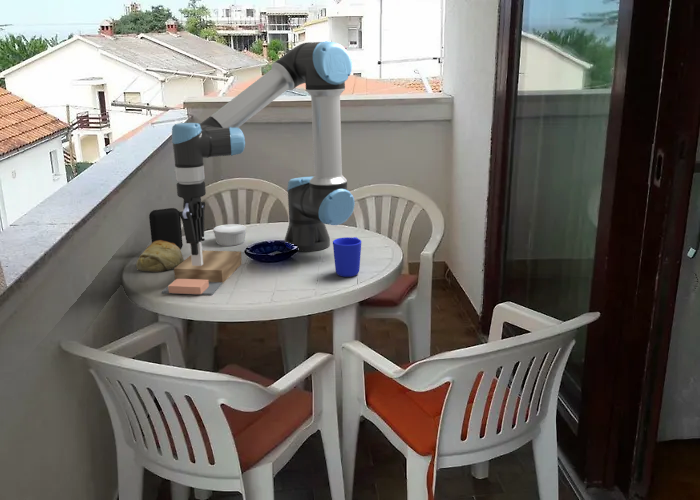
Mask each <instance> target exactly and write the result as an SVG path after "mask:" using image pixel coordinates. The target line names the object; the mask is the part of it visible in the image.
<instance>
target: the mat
mask: <svg viewBox="0 0 700 500" xmlns="http://www.w3.org/2000/svg"><path fill="white" fill-rule="evenodd" d="M223 284H224V283H223V282H209V287H208V288H207V289H206V290H205V291H204V292H203V293H202V294H192V295H193V296H194V295H196V296H197V295H198V296H200V295H201V296H212V295H214V293H216V291H218V290H219V289H220V287H221V286H222V285H223ZM161 294H170V293H169V289H168V286H166V287H165V288H164V289H163V290H162V291H161ZM174 294H175V295H184V294H183V293H172V294H171V295H174Z"/></svg>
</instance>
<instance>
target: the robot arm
mask: <svg viewBox="0 0 700 500" xmlns="http://www.w3.org/2000/svg"><path fill="white" fill-rule="evenodd" d="M352 70H353V62H352V58H351V56H350V53H349V51H348V50H347V49H346V48H345V47H344V46H343V45H341V44H340V43H337V42H336V41H335V42H334V41H329V40H327V41H316V42H314V41H313V42H311V41H310V42H304V43H300V44H298V45H296V46H295V47H293V48H292V49H290V50H289V51H287V52H286V53H285V54H283V55H282V56H281V57H280V58H278V59H277V60H276V61H274V62H273V63H272V64H271V69H270V70H269V71H267V72H266V73H264V74H263V75H262V76H261V77H259V78H258V79H257V80H255V81H254V82H253V83H251V85H249V86H248V87H246V88H245V89H243V90H242V91H241V92H240V93H238V94H237V95H236V96H234V97H233V98H232V99H231V100H230V101H228V102H227V103H225V105H223V106H222V107H220V108H219V109H218V110H216V111H215V112H214V113H212V115H210V116H209V117H207V118H206V119H204V120H203V121H202V122H199V123H198V122H180V123H176V124H175V123H174V125H173V126H172V128H171V143H172V148H173V149H172V150H173V160H174V169H173V172H174V173H175V179H176V182H177V183H176V194H177V197H178V198H181V199H183V205H182V208H183V209H182V210H183V211H179V212H180V216H181V217H180V219H181V223H182V226H183V232H184V237H185V243H186V244H189V245H190V255H191V259H192V265H193V266H202V265H203V255H202V250H203V245H202V242H205V241H206V238H205V208H206V203H205V201H202V197H204V196H206V194H207V193H206V192H207V190H206V183H205V181H204V180H205V179H206V178H205V177H206V176H205V166H204V165H205V164H204V159H207V158H208V159H209V158H215V157H216V158H217V157H218V158H219V157H229V156H230V157H233V156H237V155H241V154H243V152H244V150H245V147H246V139H245V134H244V132H243V130H242V129H241V128H240V127H242V125H244V124H245V123H246V122H247V121H249V120H250V119H251V118H253V117H254V116H255V115H257V114H258V113H259V112H260V111H262V110H263V109H264V108H266V107H267V106H269V104H271V103H272V102H274V101H275V100H276V99H277V98H279V97H280V96H281V95H282V94H284V93H285V92H286V91H293V90H294V89H296V87H298V86H300V85H303V84H305V91H306V92H307V93H308V94H309V95H310V97H311V99H310V100H311V121H312V123H311V125H312V126H311V129H312V152H313V153H312V155H313V156H312V157H313V176H301V177H295V178H290V179H289V180H288V181H287V199H288V200H287V203H288V205H287V207H288V227H287V229H286V230H287V231H286V234H285V237H284V243H285V242H288V243H291V244H294V245H297V246H298V248H299V251H298V252H315V251H321V250H325V249H327V248H329V247H330V245H331V239H330V238H331V237H330V235H329V232H328V229H327V226H326V225H331V226H338V225H339V226H340V225H342V224H344V223H346V222H347V221H349V218H350V217H352V215H353V213H354V210H355V197H354V196H353V194H352V193H351V191H350V190H348V180H347V178H346V177H344V175H343V165H342V160H343V159H342V123H341V121H342V119H341V118H342V117H341V95H342V93H343V92H344V91H345V90H346V81H347V80H348V79H349V77H350V76H351V74H352Z"/></svg>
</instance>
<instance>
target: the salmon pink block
mask: <svg viewBox="0 0 700 500" xmlns="http://www.w3.org/2000/svg"><path fill="white" fill-rule="evenodd" d="M167 287H168V289H169V293H183V294H182V295H193V294H202V293H203V292H204V291H205V290H206V289H207V288H208V287H209V281H208V280H202V279H176V280H175V279H174V280H173V281H172V282H171V283H170V284H169V285H168V286H167Z"/></svg>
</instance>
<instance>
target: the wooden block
mask: <svg viewBox="0 0 700 500" xmlns="http://www.w3.org/2000/svg"><path fill="white" fill-rule="evenodd" d="M202 255H203V265H202V266H193V265H192V259H191V254H190V255H189V256H188V257H187V258H185V259H184V261H183V262H182V263H180V264H179V265H178V266H177V267H175V268H173V274H174V281H175V280H176V279H202V280H208V281H209V282H223V284H224V283H225V282H226V281H227V280H228V279H229V278H230V277H231V276H232V275H233V274H234V273H235V272H236V271H237V270H238V268H240V266H242V264H243V262H242V261H243V260H242V251H235V250H234V251H232V250H230V251H229V250H205V249H204V250H203V249H202Z"/></svg>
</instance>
